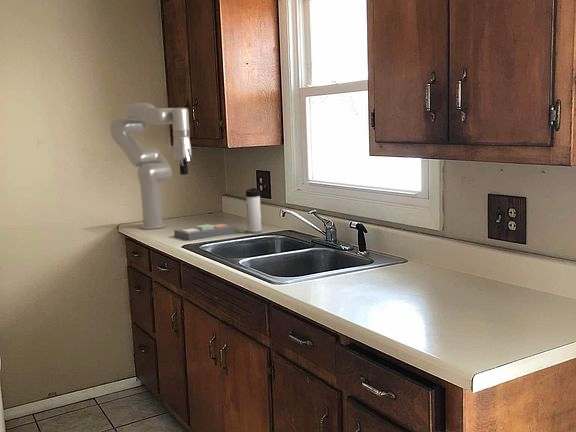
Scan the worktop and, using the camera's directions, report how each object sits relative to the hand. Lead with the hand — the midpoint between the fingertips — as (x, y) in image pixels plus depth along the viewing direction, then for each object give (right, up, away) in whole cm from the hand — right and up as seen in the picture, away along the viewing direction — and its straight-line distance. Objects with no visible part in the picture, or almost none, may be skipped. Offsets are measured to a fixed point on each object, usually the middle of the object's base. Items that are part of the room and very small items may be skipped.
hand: (184, 174), depth 304 cm
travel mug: (+33, -27, -6) cm, 43 cm away
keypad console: (+11, -28, -7) cm, 31 cm away
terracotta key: (+17, -26, -3) cm, 31 cm away
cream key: (+5, -28, -12) cm, 31 cm away
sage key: (+11, -26, -8) cm, 29 cm away
